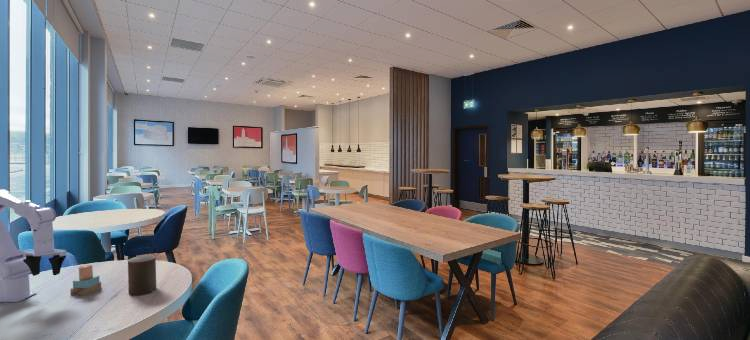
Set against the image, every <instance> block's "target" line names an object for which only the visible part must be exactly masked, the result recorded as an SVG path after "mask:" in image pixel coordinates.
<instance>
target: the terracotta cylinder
mask: <svg viewBox="0 0 750 340" xmlns="http://www.w3.org/2000/svg"><path fill="white" fill-rule="evenodd" d="M93 268H94V267H93V265H92V264H83V265H80V266H78V278H79V280H88V279H91V278H93V276H94V270H93Z"/></svg>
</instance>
